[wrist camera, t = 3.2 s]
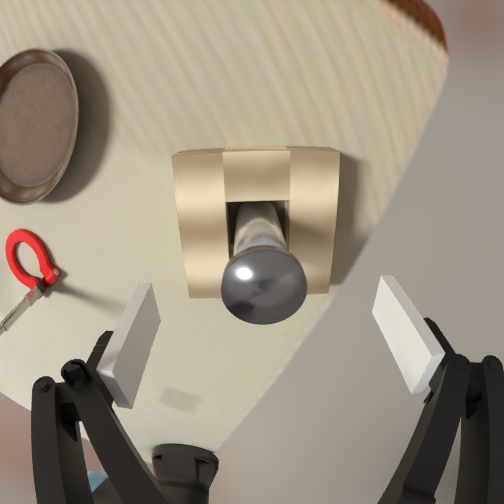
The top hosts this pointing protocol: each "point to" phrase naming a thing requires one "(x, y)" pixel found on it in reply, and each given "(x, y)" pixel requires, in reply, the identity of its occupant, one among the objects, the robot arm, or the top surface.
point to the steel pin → (262, 269)
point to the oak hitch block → (255, 189)
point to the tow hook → (35, 285)
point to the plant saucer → (35, 124)
